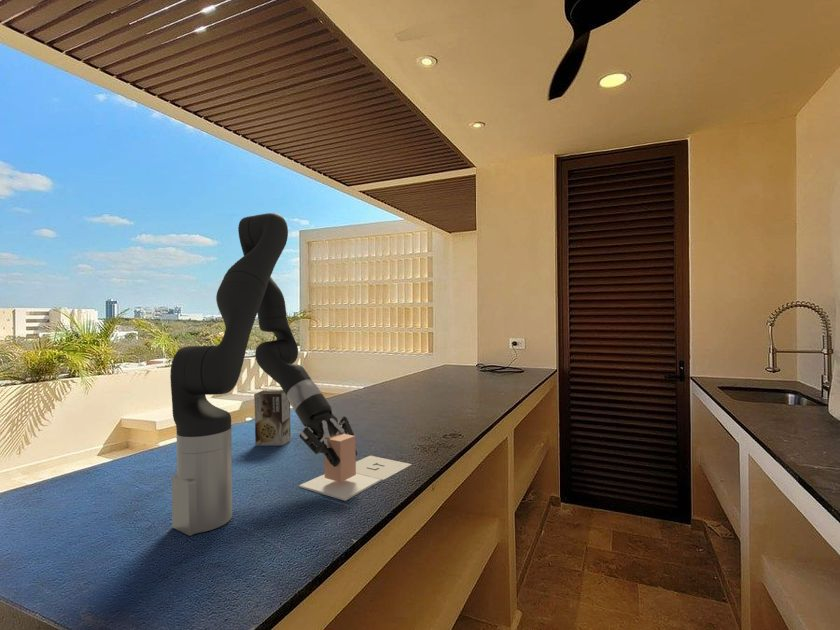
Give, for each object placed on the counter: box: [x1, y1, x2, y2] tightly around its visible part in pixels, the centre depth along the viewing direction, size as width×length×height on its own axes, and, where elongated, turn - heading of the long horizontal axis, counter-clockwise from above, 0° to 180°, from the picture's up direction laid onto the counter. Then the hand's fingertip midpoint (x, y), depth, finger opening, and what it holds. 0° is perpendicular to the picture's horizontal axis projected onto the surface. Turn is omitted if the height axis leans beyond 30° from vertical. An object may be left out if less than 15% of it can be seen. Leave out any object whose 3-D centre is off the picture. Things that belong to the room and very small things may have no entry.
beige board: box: [298, 473, 382, 501], centre depth 94 cm, size 12×14×1 cm
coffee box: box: [253, 389, 292, 447], centre depth 129 cm, size 9×6×16 cm
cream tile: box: [356, 455, 413, 481], centre depth 105 cm, size 12×14×1 cm
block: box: [323, 433, 357, 482], centre depth 94 cm, size 5×5×9 cm
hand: (346, 460), depth 93 cm, fingers closed on block, 5 cm apart
